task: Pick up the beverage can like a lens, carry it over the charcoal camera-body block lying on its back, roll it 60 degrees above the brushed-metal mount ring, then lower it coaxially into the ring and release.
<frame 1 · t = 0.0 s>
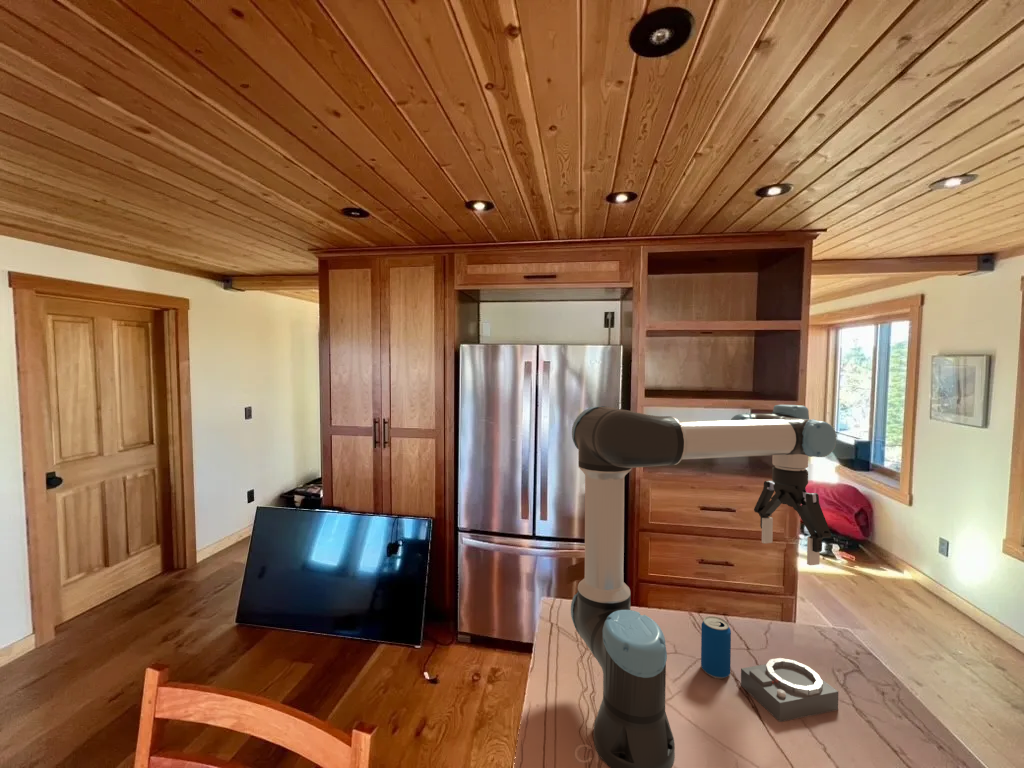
hand: (788, 552, 109), 28 cm above the countertop, fingers open, 13 cm apart
mount ring: (793, 696, 98), resting on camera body
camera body: (787, 697, 98), on the countertop
beverage can: (715, 672, 107), on the countertop
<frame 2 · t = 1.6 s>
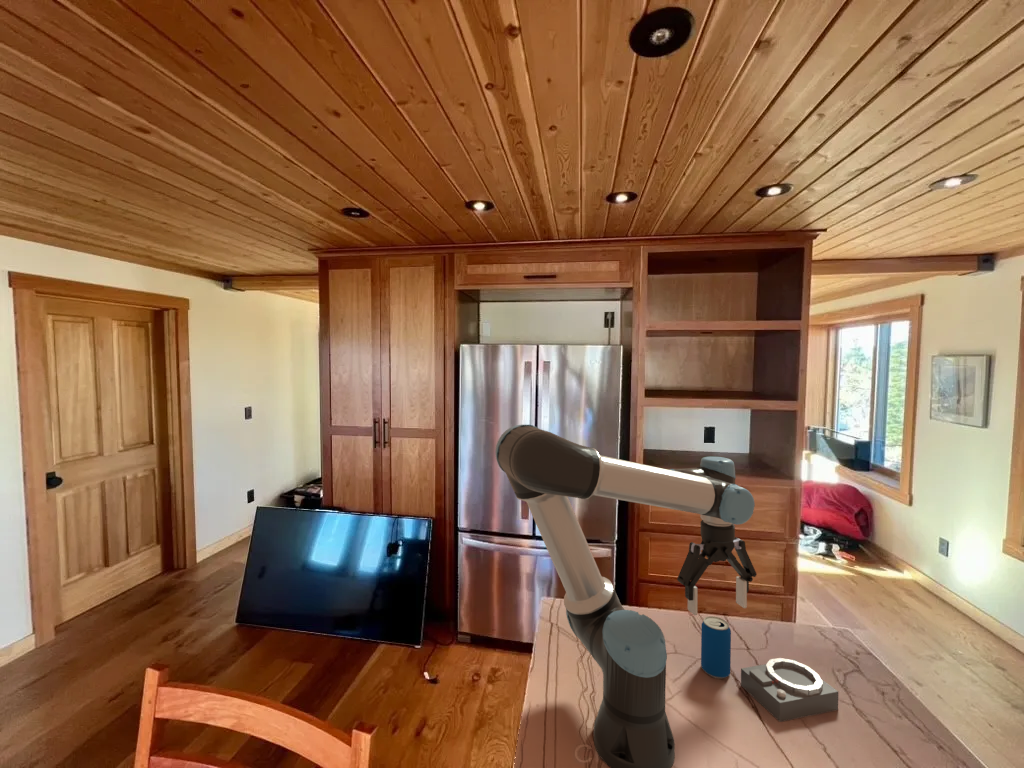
hand: (717, 608, 106), 15 cm above the countertop, fingers open, 13 cm apart
nothing on the countertop moved.
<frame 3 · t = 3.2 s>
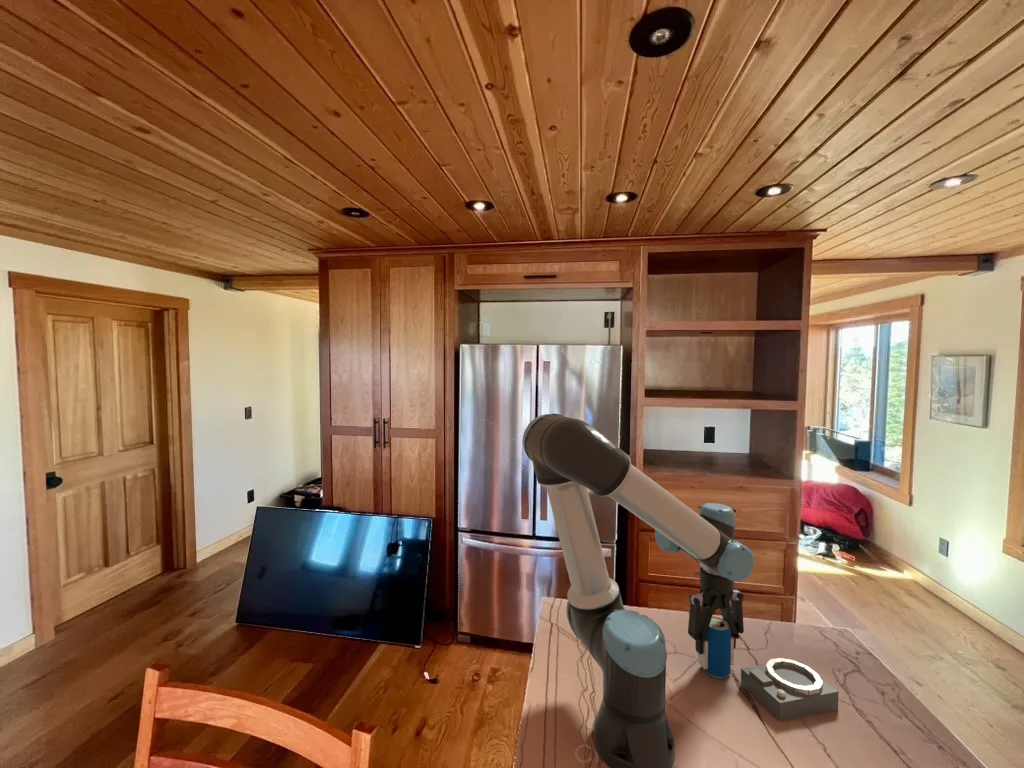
hand: (715, 663, 107), 2 cm above the countertop, fingers closed on beverage can, 6 cm apart
beverage can: (715, 672, 107), on the countertop, touching gripper
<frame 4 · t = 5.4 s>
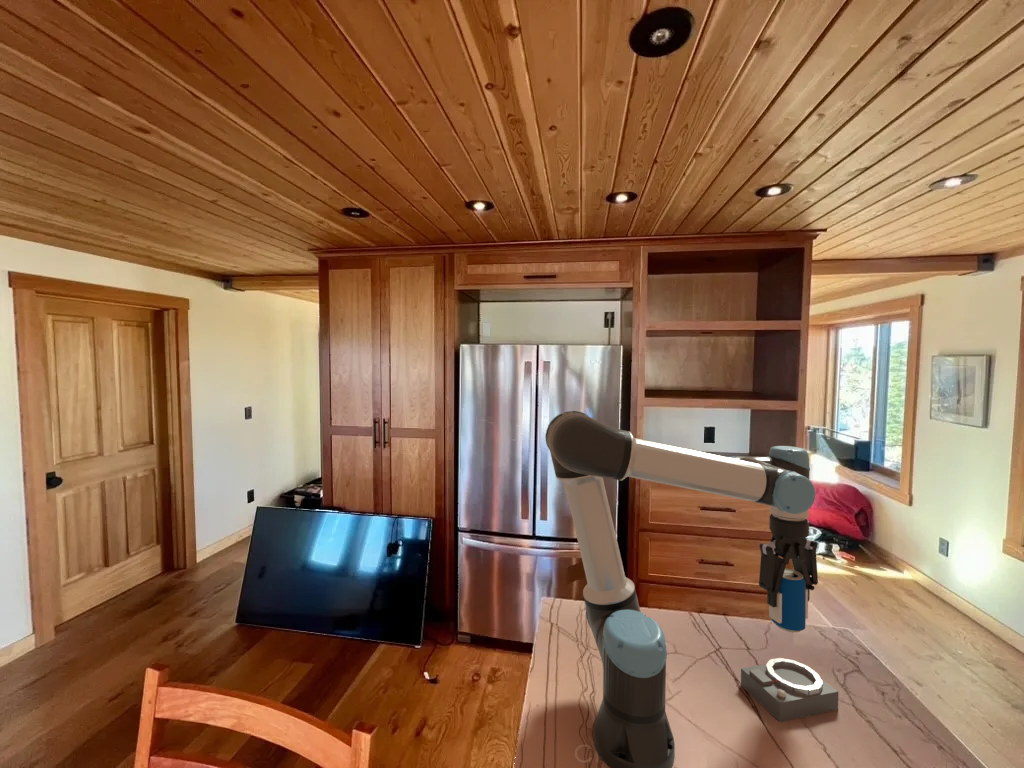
hand: (788, 617, 99), 17 cm above the countertop, fingers closed on beverage can, 6 cm apart
beverage can: (788, 626, 99), point 15 cm above the countertop, touching gripper
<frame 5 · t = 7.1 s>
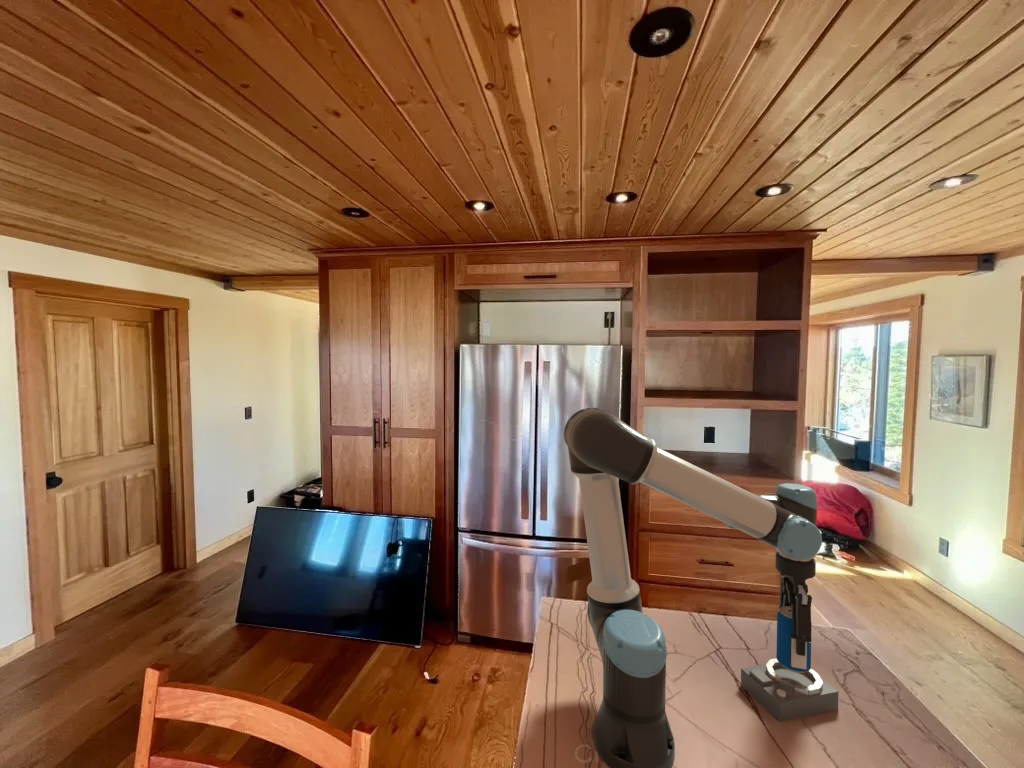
hand: (793, 656, 98), 9 cm above the countertop, fingers closed on beverage can, 6 cm apart
beverage can: (793, 666, 98), point 7 cm above the countertop, touching gripper
when the fingers open (7 cm above the countertop, at t = 7.8 s): beverage can drops 1 cm, resting on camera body.
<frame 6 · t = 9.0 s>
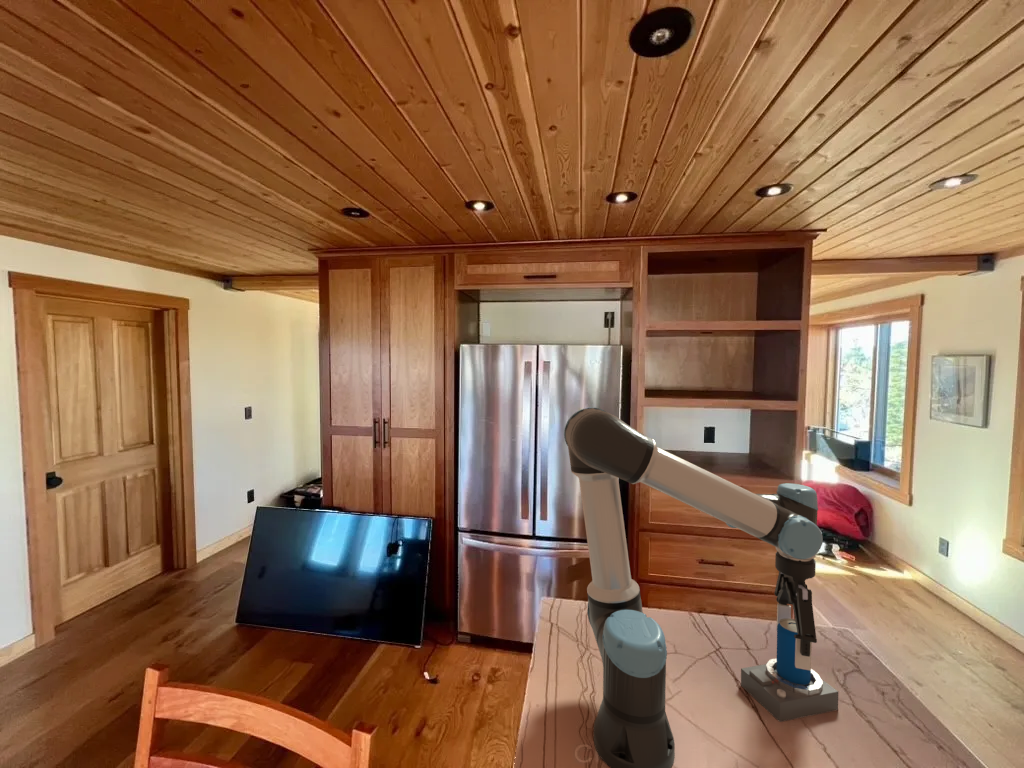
hand: (792, 649, 98), 11 cm above the countertop, fingers open, 13 cm apart
beverage can: (793, 679, 98), point 4 cm above the countertop, touching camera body
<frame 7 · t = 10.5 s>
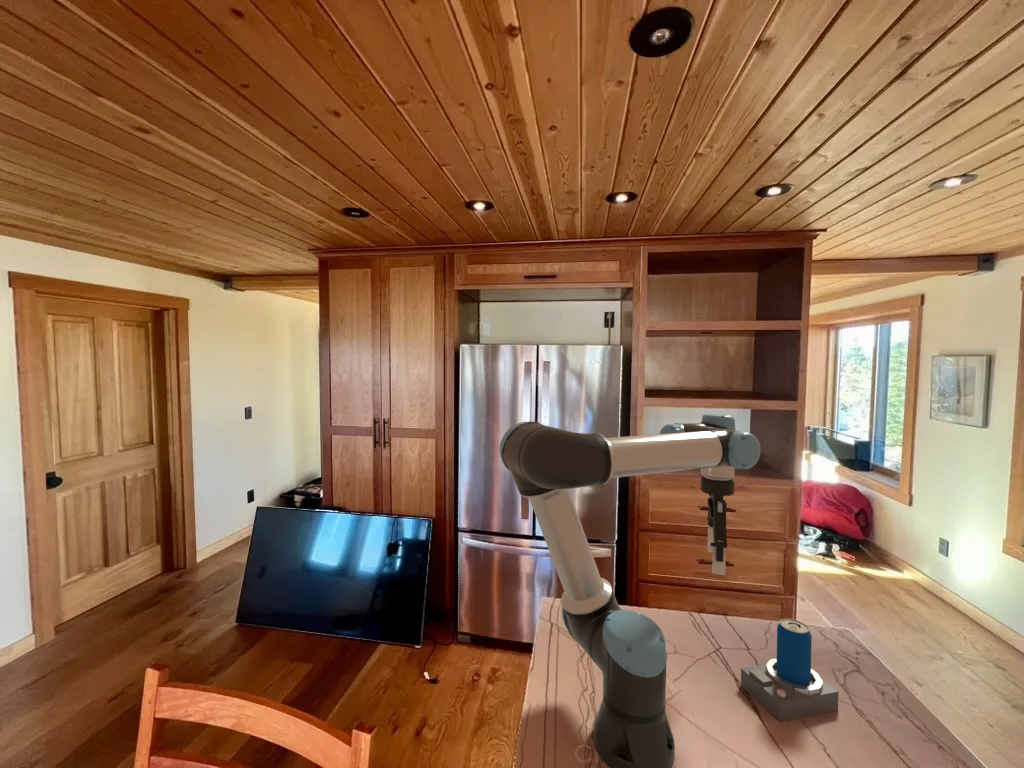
hand: (715, 562, 109), 26 cm above the countertop, fingers open, 13 cm apart
nothing on the countertop moved.
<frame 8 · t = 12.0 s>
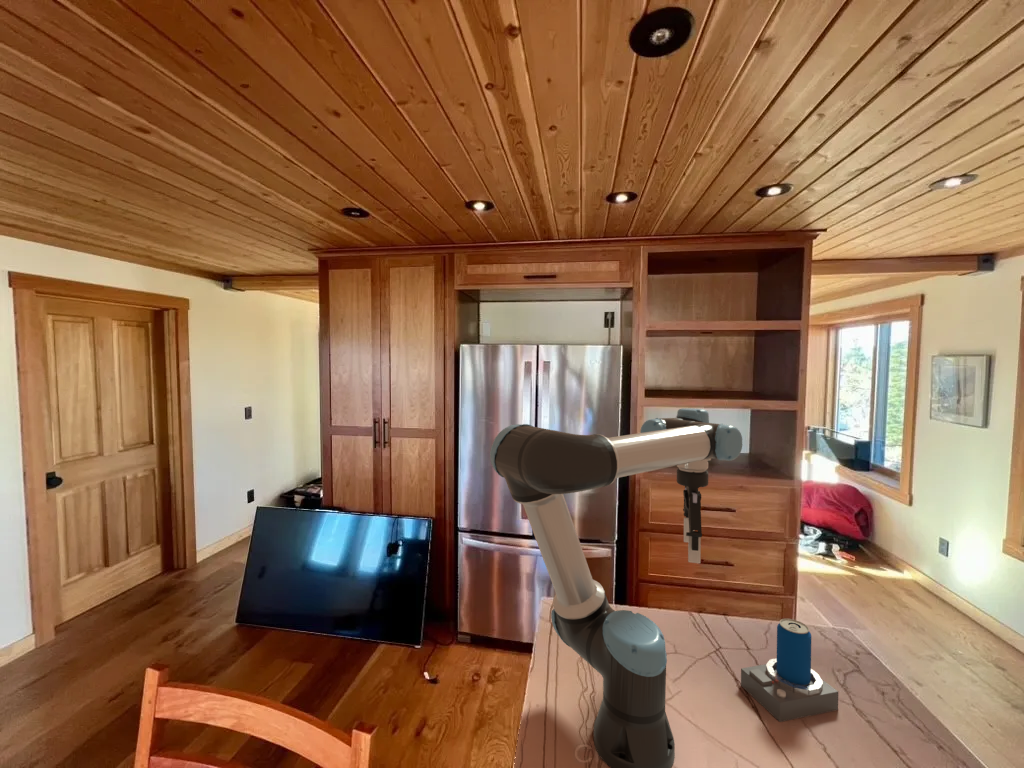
hand: (691, 551, 112), 27 cm above the countertop, fingers open, 13 cm apart
nothing on the countertop moved.
at the end: beverage can 0.1 cm from the mount ring (horizontally); beverage can tilted 0°; beverage can touching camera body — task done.
